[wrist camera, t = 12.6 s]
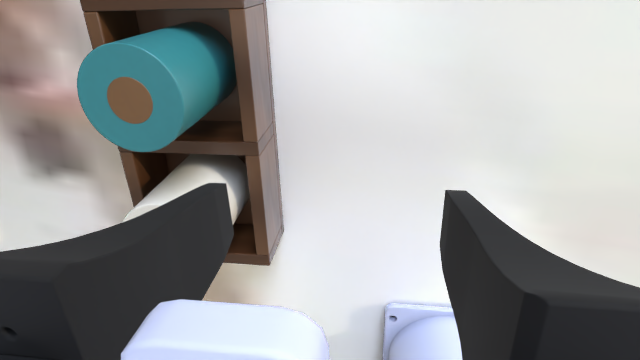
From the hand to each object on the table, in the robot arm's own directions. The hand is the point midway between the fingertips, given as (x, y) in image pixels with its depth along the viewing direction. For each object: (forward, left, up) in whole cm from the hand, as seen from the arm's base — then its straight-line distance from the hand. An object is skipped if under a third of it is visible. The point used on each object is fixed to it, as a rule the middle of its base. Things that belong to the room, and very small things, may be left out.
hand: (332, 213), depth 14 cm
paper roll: (+3, +8, -9) cm, 12 cm away
